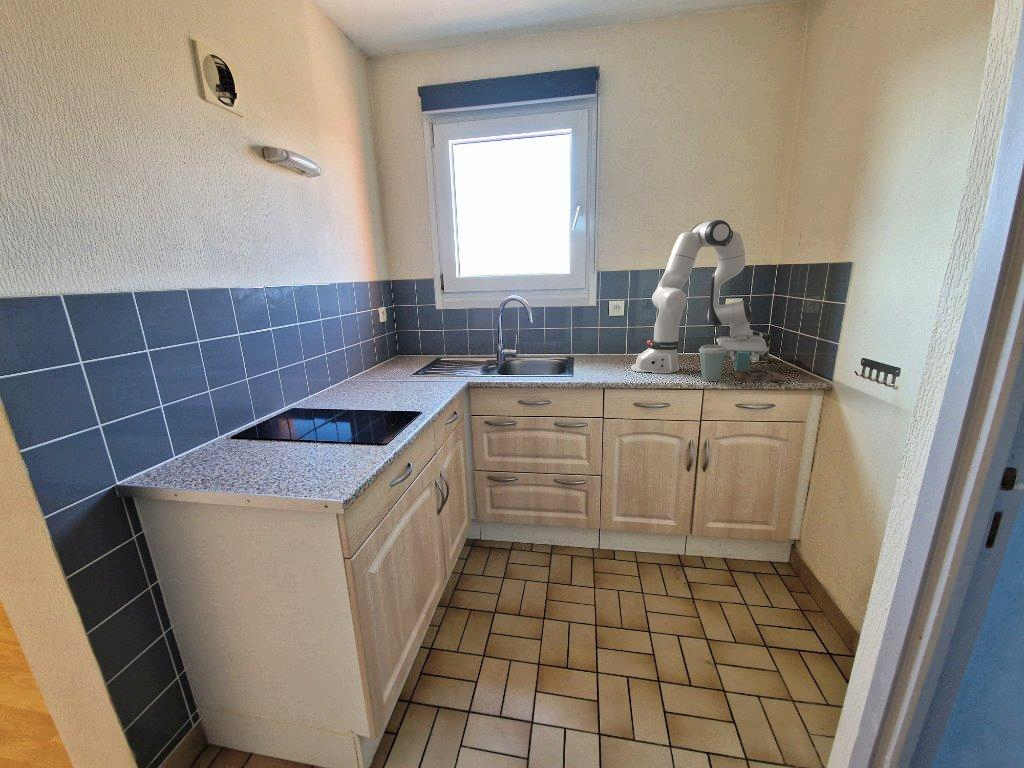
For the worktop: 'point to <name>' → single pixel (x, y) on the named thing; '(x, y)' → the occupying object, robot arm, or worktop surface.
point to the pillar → (742, 360)
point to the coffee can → (765, 357)
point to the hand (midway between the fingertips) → (742, 361)
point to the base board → (758, 375)
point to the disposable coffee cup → (712, 361)
